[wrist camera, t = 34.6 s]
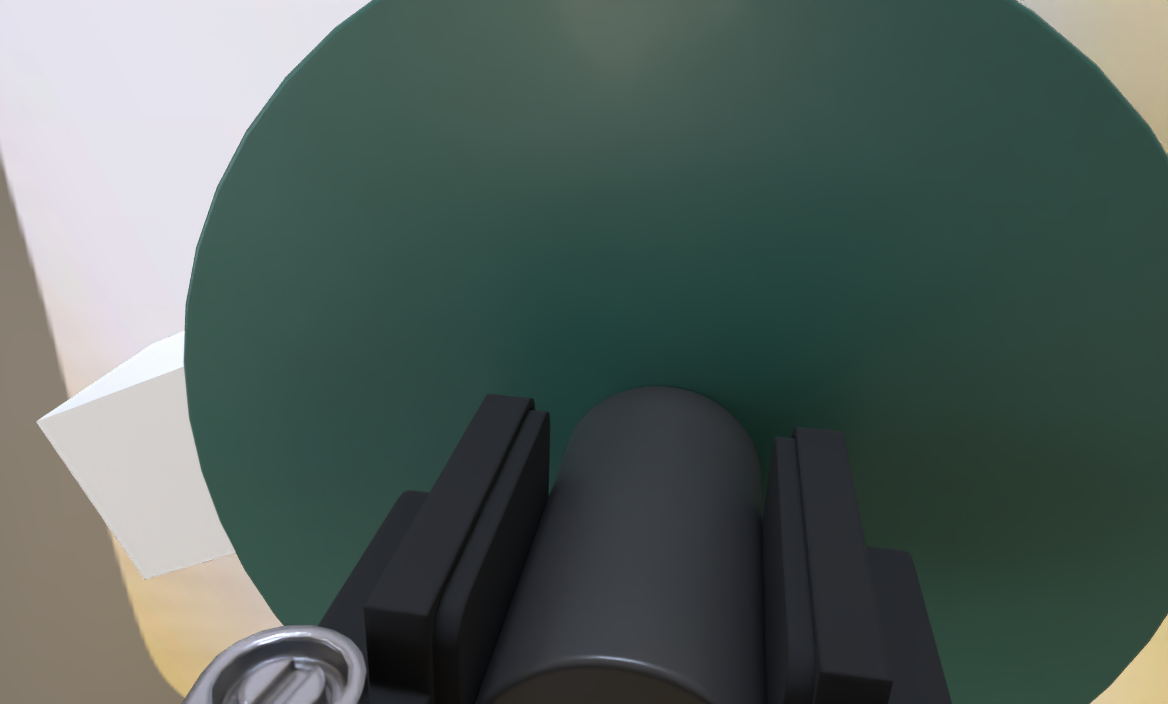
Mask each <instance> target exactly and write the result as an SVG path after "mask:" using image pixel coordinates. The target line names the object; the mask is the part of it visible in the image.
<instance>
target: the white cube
mask: <svg viewBox="0 0 1168 704" xmlns="http://www.w3.org/2000/svg"><path fill="white" fill-rule="evenodd" d="M184 335H185V331H182V332H180V333H177V334H175V335H172V336H170V337H167V338H164V339H162V340H159V341H157V342H154V343H153V344H151V345H150V346H148V347H147V348H145V349H144V350H142V351H141V352H139V353H138V354H136V355H135V356H133V357H132V358H130V359H129V360H127V361H126V362H124V363H123V364H121V365H120V366H118V367H117V368H115V369H114V370H112V371H111V372H109V373H108V374H106V375H105V376H103V377H102V378H100V379H99V380H97V381H96V382H94V383H93V384H91V385H90V386H88V387H87V388H86V389H84V390H83V391H81V392H80V393H78V394H77V395H75V396H74V397H72V398H71V399H69V400H68V401H66V402H65V403H63V404H62V405H60V406H59V407H57V408H56V409H54V410H53V411H51V412H50V413H48V414H47V415H45V416H44V417H42V418H41V419H39V420H38V421H37V423H38V425H39V426H40V428H41V429H42V431H43V432H44V434H45V435H46V436H47V438H48V439H49V441H50V442H51V444H52V445H53V447H54V448H55V450H56V451H57V453H58V454H59V456H60V457H61V459H62V460H63V461H64V463H65V464H66V466H67V467H68V469H69V470H70V472H71V473H72V474H73V476H74V477H75V479H76V480H77V482H78V483H79V485H80V486H81V488H82V489H83V491H84V492H85V494H86V495H87V497H88V498H89V499H90V501H91V502H92V504H93V505H94V507H95V508H96V510H97V511H98V512H99V514H100V516H101V517H102V518H103V520H104V521H105V523H106V524H107V526H108V527H109V529H110V530H111V532H112V533H113V534H114V536H115V537H116V539H117V540H118V542H119V543H120V545H121V546H122V548H123V549H124V551H125V552H126V553H127V555H128V556H129V558H130V559H131V561H132V562H133V564H134V565H135V567H136V568H137V570H138V571H139V572H140V574H141V575H142V577H143V578H144V580H145V579H149V578H152V577H156V576H159V575H162V574H166V573H169V572H173V571H176V570H180V569H183V568H187V567H190V566H193V565H197V564H200V563H204V562H207V561H211V560H214V559H218V558H221V557H224V556H228V555H231V554H235V553H236V552H235V550H234V548H233V546H232V544H231V542H230V540H229V538H228V536H227V534H226V532H225V531H224V529H223V527H222V525H221V523H220V520H219V518H218V515H217V512H216V509H215V507H214V504H213V501H212V499H211V496H210V493H209V491H208V488H207V485H206V482H205V480H204V477H203V474H202V472H201V468H200V463H199V459H198V455H197V451H196V446H195V442H194V438H193V433H192V429H191V425H190V421H189V414H188V404H187V394H186V383H185V373H184V363H183V360H184Z"/></svg>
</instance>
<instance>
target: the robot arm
mask: <svg viewBox="0 0 1168 704" xmlns="http://www.w3.org/2000/svg"><path fill="white" fill-rule="evenodd" d="M549 461H550V414H549V412H546V411H537V410H536V409H535V402H534V399H533V398H525V397H516V396H506V395H497V394H487V395H486V396H485V398H484V400H483V401H482V403H481V405H480V407H479V408H478V410H477V412H476V413H475V415H474V417H473V419H472V420H471V422H470V424H469V426H468V427H467V429H466V431H465V432H464V434H463V436H462V438H461V439H460V441H459V443H458V445H457V446H456V448H455V450H454V452H453V453H452V455H451V457H450V458H449V460H448V462H447V464H446V465H445V467H444V469H443V471H442V472H441V474H440V476H439V477H438V479H437V481H436V483H435V484H434V486H433V488H432V490H431V491H430V492H422V491H414V490H408V491H404V492H403V493H402V494H401V496H400V497H399V498H398V499H397V501H396V502H395V504H394V506H393V507H392V509H391V510H390V512H389V513H388V515H387V517H386V518H385V520H384V521H383V523H382V525H381V526H380V528H379V529H378V531H377V532H376V534H375V536H374V537H373V539H372V540H371V542H370V544H369V545H368V547H367V548H366V550H365V552H364V553H363V555H362V556H361V558H360V559H359V561H358V563H357V564H356V566H355V567H354V569H353V571H352V572H351V574H350V575H349V577H348V579H347V580H346V582H345V583H344V585H343V586H342V588H341V590H340V591H339V593H338V594H337V596H336V598H335V599H334V601H333V602H332V604H331V605H330V607H329V609H328V610H327V612H326V613H325V615H324V617H323V618H322V620H321V621H320V623H319V625H318V626H314V625H287V626H282V627H278V628H273V629H268V630H264V631H261V632H258V633H256V634H253V635H251V636H249V637H246V638H244V639H242V640H239V641H237V642H236V643H234V644H233V645H232V646H230V647H229V648H227V649H226V650H224V651H223V652H222V653H220V654H219V655H217V656H216V657H215V658H214V660H213V661H212V662H211V663H210V664H209V665H208V666H207V667H206V669H205V670H204V671H203V672H202V673H201V675H200V676H199V678H198V679H197V681H196V682H195V684H194V685H193V687H192V688H191V690H190V691H189V693H188V694H187V696H186V697H185V699H184V700H183V702H182V704H475V701H476V699H477V696H478V693H479V690H480V687H481V685H482V682H483V679H484V676H485V673H486V671H487V668H488V665H489V662H490V660H491V657H492V654H493V651H494V648H495V646H496V643H497V640H498V637H499V634H500V632H501V629H502V626H503V623H504V620H505V618H506V615H507V612H508V609H509V606H510V604H511V601H512V598H513V595H514V592H515V590H516V587H517V584H518V581H519V579H520V576H521V573H522V570H523V567H524V565H525V562H526V559H527V556H528V553H529V551H530V548H531V545H532V542H533V539H534V537H535V534H536V531H537V528H538V525H539V523H540V520H541V517H542V514H543V511H544V509H545V506H546V503H547V500H548V498H549ZM762 539H763V575H764V611H765V648H766V684H767V704H952V702H951V698H950V694H949V691H948V687H947V683H946V679H945V676H944V672H943V668H942V665H941V661H940V657H939V654H938V650H937V646H936V643H935V639H934V635H933V631H932V628H931V624H930V620H929V617H928V613H927V609H926V606H925V602H924V598H923V594H922V591H921V587H920V583H919V580H918V576H917V572H916V569H915V565H914V562H913V559H912V557H911V554H910V553H908V552H907V551H903V550H895V549H887V548H878V547H870V546H866V543H865V538H864V533H863V528H862V523H861V518H860V513H859V508H858V503H857V498H856V492H855V487H854V482H853V477H852V472H851V467H850V462H849V457H848V452H847V447H846V442H845V437H844V434H843V432H842V431H834V430H825V429H815V428H806V427H797V426H794V428H793V432H792V436H791V438H785V437H776V436H775V438H774V442H773V447H772V454H771V461H770V468H769V476H768V483H767V490H766V497H765V504H764V512H763V519H762Z"/></svg>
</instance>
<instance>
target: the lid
mask: <svg viewBox="0 0 1168 704" xmlns="http://www.w3.org/2000/svg"><path fill="white" fill-rule="evenodd" d="M183 363H184V373H185V383H186V394H187V404H188V414H189V421H190V425H191V429H192V433H193V438H194V442H195V446H196V451H197V455H198V459H199V463H200V468H201V472H202V474H203V477H204V480H205V482H206V485H207V488H208V491H209V493H210V496H211V499H212V501H213V504H214V507H215V509H216V512H217V515H218V518H219V520H220V523H221V525H222V527H223V529H224V531H225V532H226V534H227V536H228V538H229V540H230V542H231V544H232V546H233V548H234V550H235V552H236V554H237V556H238V558H239V560H240V562H241V564H242V566H243V568H244V569H245V571H246V573H247V574H248V576H249V577H250V579H251V580H252V582H253V583H254V585H255V586H256V588H257V589H258V591H259V592H260V594H261V595H262V597H263V598H264V600H265V601H266V603H267V604H268V606H269V607H270V609H271V610H272V612H273V613H274V614H275V616H276V617H277V618H278V619H279V620H280V622H281V623H282V624H283V625H284V626H287V625H314V626H318V625H319V623H320V621H321V620H322V618H323V617H324V615H325V613H326V612H327V610H328V609H329V607H330V605H331V604H332V602H333V601H334V599H335V598H336V596H337V594H338V593H339V591H340V590H341V588H342V586H343V585H344V583H345V582H346V580H347V579H348V577H349V575H350V574H351V572H352V571H353V569H354V567H355V566H356V564H357V563H358V561H359V559H360V558H361V556H362V555H363V553H364V552H365V550H366V548H367V547H368V545H369V544H370V542H371V540H372V539H373V537H374V536H375V534H376V532H377V531H378V529H379V528H380V526H381V525H382V523H383V521H384V520H385V518H386V517H387V515H388V513H389V512H390V510H391V509H392V507H393V506H394V504H395V502H396V501H397V499H398V498H399V497H400V496H401V494H402V493H403V492H404V491H408V490H414V491H422V492H430V491H431V490H432V488H433V486H434V484H435V483H436V481H437V479H438V477H439V476H440V474H441V472H442V471H443V469H444V467H445V465H446V464H447V462H448V460H449V458H450V457H451V455H452V453H453V452H454V450H455V448H456V446H457V445H458V443H459V441H460V439H461V438H462V436H463V434H464V432H465V431H466V429H467V427H468V426H469V424H470V422H471V420H472V419H473V417H474V415H475V413H476V412H477V410H478V408H479V407H480V405H481V403H482V401H483V400H484V398H485V396H486V395H487V394H497V395H506V396H516V397H525V398H533V399H534V402H535V409H536V410H537V411H546V412H549V414H550V461H549V498H548V500H547V503H546V506H545V509H544V511H543V514H542V517H541V520H540V523H539V525H538V528H537V531H536V534H535V537H534V539H533V542H532V545H531V548H530V551H529V553H528V556H527V559H526V562H525V565H524V567H523V570H522V573H521V576H520V579H519V581H518V584H517V587H516V590H515V592H514V595H513V598H512V601H511V604H510V606H509V609H508V612H507V615H506V618H505V620H504V623H503V626H502V629H501V632H500V634H499V637H498V640H497V643H496V646H495V648H494V651H493V654H492V657H491V660H490V662H489V665H488V668H487V671H486V673H485V676H484V679H483V682H482V685H481V687H480V690H479V693H478V696H477V699H476V701H475V704H767V684H766V648H765V611H764V575H763V539H762V519H763V512H764V504H765V497H766V490H767V483H768V476H769V468H770V461H771V454H772V447H773V442H774V438H775V436H776V437H785V438H791V436H792V432H793V428H794V426H797V427H806V428H815V429H825V430H834V431H842V432H843V434H844V437H845V442H846V447H847V452H848V457H849V462H850V467H851V472H852V477H853V482H854V487H855V492H856V498H857V503H858V508H859V513H860V518H861V523H862V528H863V533H864V538H865V543H866V546H870V547H878V548H887V549H895V550H903V551H907V552H908V553H910V554H911V557H912V559H913V562H914V565H915V569H916V572H917V576H918V580H919V583H920V587H921V591H922V594H923V598H924V602H925V606H926V609H927V613H928V617H929V620H930V624H931V628H932V631H933V635H934V639H935V643H936V646H937V650H938V654H939V657H940V661H941V665H942V668H943V672H944V676H945V679H946V683H947V687H948V691H949V694H950V698H951V702H952V704H1090V703H1091V702H1092V701H1093V700H1094V699H1096V698H1097V697H1098V696H1099V695H1100V694H1101V693H1102V692H1104V691H1105V690H1106V689H1107V688H1108V687H1109V686H1110V685H1111V684H1112V683H1113V682H1114V681H1115V680H1116V678H1117V677H1118V676H1119V675H1120V674H1121V673H1122V672H1123V671H1124V669H1125V668H1126V667H1127V666H1128V665H1129V664H1130V663H1131V662H1132V660H1133V659H1134V658H1135V657H1136V656H1137V655H1138V654H1139V652H1140V651H1141V650H1142V649H1143V648H1144V647H1145V646H1146V645H1147V643H1148V642H1149V641H1150V640H1151V638H1152V637H1153V635H1154V634H1155V632H1156V631H1157V629H1158V628H1159V626H1160V625H1161V623H1162V622H1163V620H1164V619H1165V617H1166V616H1167V614H1168V155H1167V154H1166V152H1165V150H1164V149H1163V147H1162V145H1161V144H1160V142H1159V140H1158V139H1157V137H1156V136H1155V134H1154V132H1153V131H1152V129H1151V127H1150V126H1149V125H1148V124H1147V122H1146V121H1145V120H1144V119H1143V118H1142V117H1141V115H1140V114H1139V113H1138V112H1137V111H1136V110H1135V109H1134V107H1133V106H1132V105H1131V104H1130V103H1129V102H1128V100H1127V99H1126V98H1125V97H1124V96H1123V95H1122V93H1121V92H1120V91H1119V90H1118V89H1117V88H1116V86H1115V85H1114V84H1113V83H1112V82H1111V81H1110V79H1109V78H1108V77H1107V76H1106V75H1105V74H1104V72H1103V71H1102V70H1101V69H1100V68H1099V67H1098V66H1097V65H1096V64H1095V63H1094V62H1093V61H1092V60H1091V59H1089V58H1088V57H1087V56H1086V55H1085V54H1083V53H1082V52H1081V51H1080V50H1079V49H1077V48H1076V47H1075V46H1074V45H1073V44H1072V43H1070V42H1069V41H1068V40H1067V39H1066V38H1064V37H1063V36H1062V35H1061V34H1060V33H1059V32H1057V31H1056V30H1055V29H1054V28H1053V27H1051V26H1050V25H1049V24H1048V23H1047V22H1045V21H1044V20H1043V19H1042V18H1041V17H1040V16H1038V15H1037V14H1036V13H1035V12H1034V11H1032V10H1031V9H1029V8H1027V7H1026V6H1024V5H1022V4H1021V3H1019V2H1017V1H1016V0H372V1H371V2H369V3H368V4H366V5H365V6H364V7H362V8H361V9H360V10H358V11H357V12H356V13H354V14H353V15H351V16H350V17H349V18H347V19H346V20H345V21H343V22H342V23H341V24H339V25H338V26H337V27H335V28H334V29H333V30H332V31H331V32H330V33H329V34H328V35H327V36H326V37H325V38H324V39H323V40H322V41H321V42H320V43H319V44H318V45H317V46H316V47H315V48H314V49H313V50H312V51H311V52H310V53H309V54H308V55H307V56H306V57H305V58H304V59H303V60H302V61H301V62H300V63H299V64H298V65H297V66H296V67H295V68H294V69H293V70H292V71H291V72H290V73H289V74H288V75H287V76H286V77H285V79H284V80H283V81H282V83H281V84H280V86H279V87H278V88H277V90H276V91H275V92H274V94H273V95H272V96H271V98H270V99H269V101H268V102H267V103H266V105H265V106H264V107H263V109H262V110H261V111H260V113H259V114H258V116H257V117H256V118H255V120H254V121H253V122H252V124H251V125H250V126H249V128H248V129H247V131H246V132H245V134H244V136H243V138H242V140H241V142H240V144H239V146H238V148H237V150H236V152H235V154H234V155H233V157H232V159H231V161H230V163H229V165H228V167H227V169H226V171H225V173H224V175H223V177H222V178H221V180H220V182H219V184H218V186H217V188H216V191H215V194H214V197H213V200H212V203H211V206H210V209H209V212H208V215H207V218H206V221H205V223H204V226H203V229H202V232H201V235H200V238H199V241H198V244H197V247H196V252H195V257H194V263H193V268H192V274H191V279H190V284H189V290H188V295H187V301H186V310H185V335H184V360H183Z"/></svg>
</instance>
